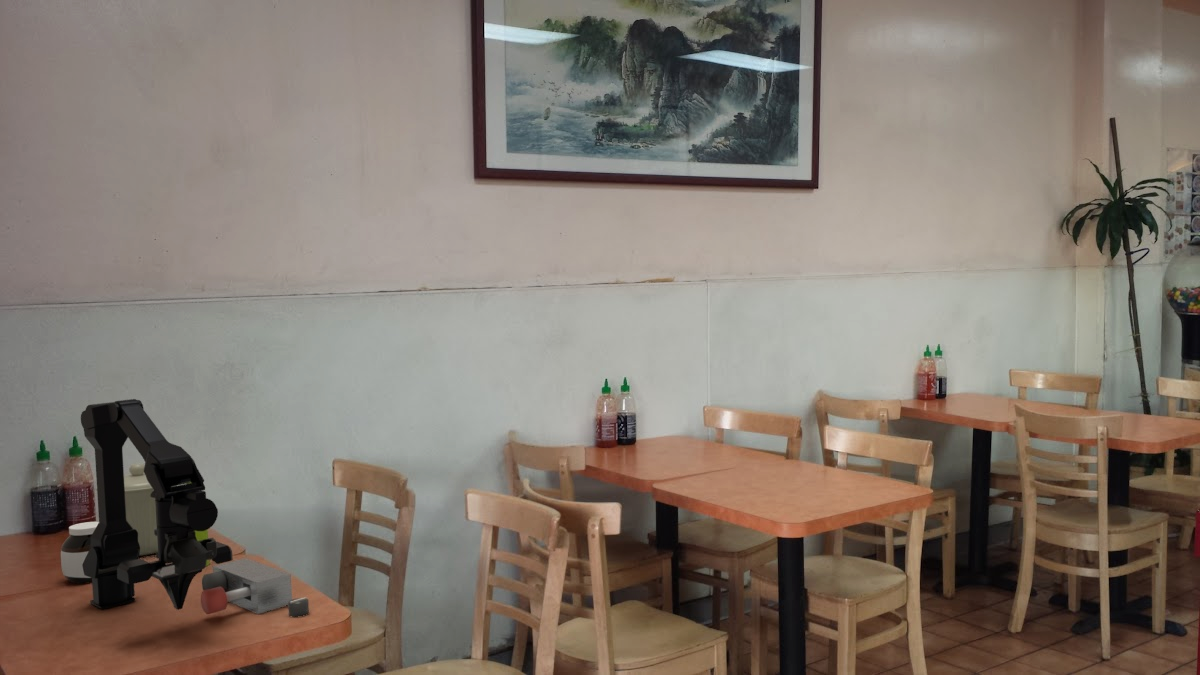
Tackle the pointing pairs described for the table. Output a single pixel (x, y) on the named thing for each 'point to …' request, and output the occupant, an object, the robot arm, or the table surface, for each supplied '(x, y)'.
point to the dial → (298, 607)
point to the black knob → (214, 581)
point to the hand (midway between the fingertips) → (178, 608)
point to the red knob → (221, 598)
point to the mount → (257, 584)
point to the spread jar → (77, 551)
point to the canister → (141, 508)
